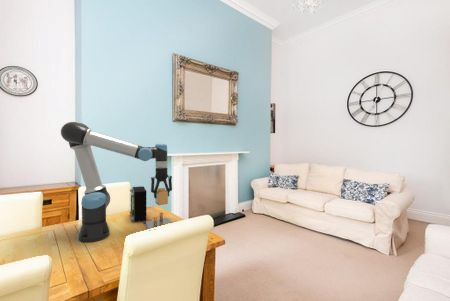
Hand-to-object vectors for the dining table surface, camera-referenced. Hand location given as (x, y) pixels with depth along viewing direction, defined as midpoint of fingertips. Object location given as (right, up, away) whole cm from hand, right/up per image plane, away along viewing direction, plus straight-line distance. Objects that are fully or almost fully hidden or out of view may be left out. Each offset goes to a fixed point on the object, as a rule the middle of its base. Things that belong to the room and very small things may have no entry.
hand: (161, 202), depth 153 cm
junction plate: (-1, -13, -4) cm, 14 cm away
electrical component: (-18, -13, +8) cm, 24 cm away
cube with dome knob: (0, -1, 0) cm, 1 cm away
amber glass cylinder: (-2, -13, -9) cm, 16 cm away
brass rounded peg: (0, -13, +1) cm, 13 cm away
